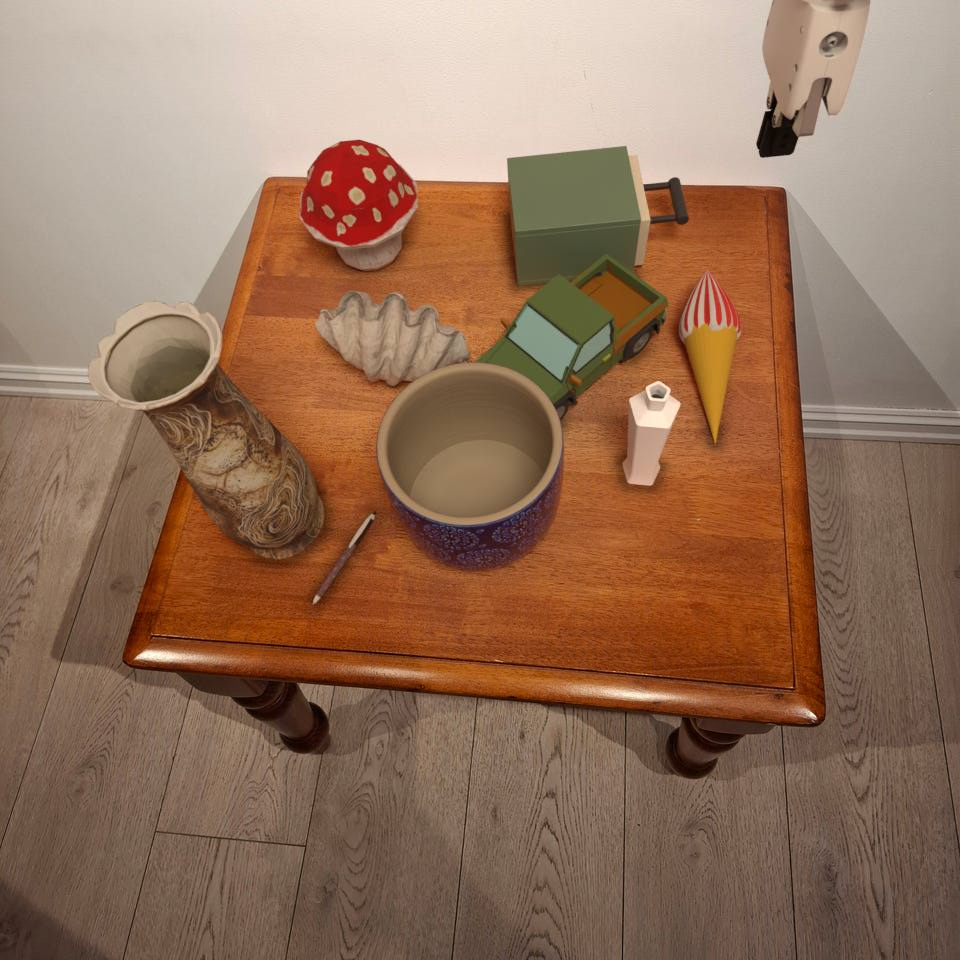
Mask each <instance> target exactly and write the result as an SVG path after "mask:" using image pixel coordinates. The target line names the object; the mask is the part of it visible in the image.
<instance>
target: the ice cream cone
mask: <svg viewBox="0 0 960 960" xmlns="http://www.w3.org/2000/svg"><path fill="white" fill-rule="evenodd" d="M742 327H743V326H742V320H741V317H740V314H739V312H738V309H737V308H736V306H735V304H734V302H733V301H732V299H731V298H730V297H729V294H728V293H727V292H726V290H725V289H724V287H723V286H722V284H721V283H720V282H719V281H718V279H717V278H716V277H715V276H714V275H713V274H712V272H710V270H709V269H708V268H706V270H705V271H704V273H703V274H702V276H700V279H699V280H698V281H697V283H696V284H695V286H694V288H693V290H692V292H691V294H690V296H689V298H688V300H687V301H686V304H685V307H684V309H683V312H682V314H681V317H680V321H679V325H678V336H679V338H680V340H681V342H682V343H683V345H685V349H686V352H687V356H688V359H689V363H690V367H691V369H692V372H693V377H694V379H695V383H696V386H697V390H698V392H699V396H700V399H701V403H702V405H703V406H702V407H703V408H704V412H705V415H706V419H707V422H708V426H709V429H710V433H711V435H712V440H713V442H714V445H716V444H717V440H718V433H719V428H720V425H721V424H720V423H721V419H722V413H723V408H724V405H725V398H726V394H727V389H728V384H729V379H730V374H731V368H732V364H733V359H734V355H735V349H736V344H737V340H738V339H739V338H740V336H741V333H742Z"/></svg>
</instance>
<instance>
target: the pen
mask: <svg viewBox="0 0 960 960" xmlns="http://www.w3.org/2000/svg"><path fill="white" fill-rule="evenodd" d="M376 514H377V511H373V512H372V513H371V514H369V515H368V517H367V518H366V519H365V520H364V521H363V523H362V524H361V525H360V527H359V528H358V529H357V531H356V533H355V534H354V536H353V537H352V539H351V541H350V542H349V543H348V545H347V546H346V548H345V549H344V551H343V552H342V554H341V556H340V557H339V559H338V560H337V561H336V563H335V564H334V566H333V568H332V569H331V570H330V572H329V574H328V575H327V576H326V578H325V580H323V583H322V584H321V585H320V587H319V588H318V590H317V591H316V593H315V595H314V597H313V600H312V605H315V604H317V602H318V601H320V600H321V599H322V598H323V596H324V594H326V592H327V590H328V589H329V587H331V585H332V583H333V582H334V580H335V579H336V578H337V576H338V575H339V574H340V571H341V570H342V569H343V567H344V566H345V564H347V561H348V560H349V559H350V558H351V556H352V554H353V553H354V551H355V550H356V549H357V547H358V546H359V544H360V543H361V541H362V539H363V538H364V537H365V535H366V533H367V532H368V530H369V529H370V527H371V525H372V524H373V523H374V521H375V518H376Z"/></svg>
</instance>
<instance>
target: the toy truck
mask: <svg viewBox="0 0 960 960" xmlns="http://www.w3.org/2000/svg"><path fill="white" fill-rule="evenodd" d="M668 300H669V299H668V297H667V296H666V295H664V294H663V293H661V292H660V291H659V290H658V289H656V288H654V287H653V286H652V285H650V284H649V283H648V282H646V281H645V280H643V279H642V278H641V277H639V276H638V275H637V274H635V272H634V273H632V272H631V271H630V270H628V269H627V268H625V267H624V266H623V265H621V264H620V263H619V262H617V261H616V260H614V259H613V258H612V257H610V256H609V255H608V254H605V255H604V256H602V257H601V258H600V259H599V260H597V261H596V262H595V263H594V264H592V265H591V266H590V267H589V268H588V269H586V270H585V271H584V272H583V273H581V274H580V275H579V276H578V277H576V278H575V279H574V280H573V281H568V280H567V279H565V278H564V277H563V276H561V275H560V274H559V275H557V276H556V277H555V278H554V279H552V280H551V281H550V282H549V283H546V284H544V285H543V286H542V287H541V288H539V289H538V290H537V291H536V292H535V293H533V294H532V295H531V296H530V297H528V298H527V299H526V300H525V302H524V304H523V305H522V307H521V308H520V310H519V311H518V313H517V314H516V315H515V317H514V319H513V320H512V322H511V323H510V322H509V321H508V319H507V318H506V317H504V316H502V317H501V318H500V323H501V325H502V326H503V328H504V329H505V330H506V331H505V332H504V334H503V335H502V337H500V339H498V340H497V342H495V343H494V344H493V345H492V346H491V347H490V348H488V349H487V350H486V351H485V352H484V353H482V355H480V357H478V358H477V359H476V360H475V361H474V362H480V363H490V364H495V365H500V366H503V367H506V368H509V369H512V370H514V371H516V372H519V373H520V374H522V375H524V376H526V377H527V378H529V379H530V380H532V381H533V382H534V383H536V384H537V385H538V386H539V387H540V388H541V389H542V390H543V391H544V392H545V393H546V395H547V396H548V397H549V398H550V400H551V401H552V403H553V404H554V406H555V408H556V410H557V412H558V415H559V417H560V421H561V422H562V420H563V419H564V417H565V416H566V414H567V412H568V410H569V408H570V404H572V406H575V407H576V406H577V404H578V403H579V402H578V400H577V398H578V397H579V396H580V395H581V394H583V393H584V392H585V391H586V390H587V389H589V387H591V386H592V385H593V384H594V383H595V382H596V381H598V380H599V379H600V378H601V377H602V376H603V375H604V374H606V373H607V372H608V371H609V370H610V369H611V368H613V367H614V366H615V365H616V364H617V363H619V362H620V361H622V362H627V361H629V359H632V358H635V357H636V356H638V355H639V354H640V353H641V352H642V351H644V349H645V348H646V346H647V345H648V344H649V342H650V340H651V339H652V338H653V337H652V336H653V333H655V334H656V335H659V333H660V330H661V328H660V327H661V325H662V326H664V324H665V323H666V320H667V312H666V309H667V308H668V307H669V306H670V305H669V301H668Z"/></svg>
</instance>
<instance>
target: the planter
mask: <svg viewBox="0 0 960 960" xmlns="http://www.w3.org/2000/svg"><path fill="white" fill-rule="evenodd" d="M380 421H381V422H380V424H379V427H378V430H377V435H376V442H375V443H376V445H375V453H376V462H377V466H378V470H379V475H380V477H381V480H382V484H383V486H384V488H385V492H386V495H387V497H388V499H389V502H390V504H391V506H392V508H393V511H394V512H395V515H396V517H397V519H398V520H399V523H400V524H401V527H403V529H404V531H405V532H406V533H407V535H408V536H409V538H410V539H411V541H412V542H413V543H414V544H415V545H416V546H417V547H418V548H419V549H420V550H421V551H422V552H423V553H424V554H426V555H427V556H429V557H431V558H432V559H433V560H435V561H437V562H439V563H440V564H443V565H445V566H447V567H450V568H453V569H457V570H463V571H470V572H483V571H484V572H485V571H491V570H496V569H500V568H503V567H506V566H509V565H511V564H513V563H516V562H517V561H519V560H521V559H522V558H524V557H526V556H527V555H529V554H530V553H531V552H533V550H534V549H536V547H537V546H538V545H540V543H541V542H542V541H543V539H544V538H545V537H546V535H547V534H548V532H549V531H550V530H551V527H552V525H553V523H554V521H555V518H556V516H557V512H558V509H559V505H560V501H561V497H562V491H563V483H564V474H565V473H564V471H565V438H564V437H565V436H564V430H563V424H562V420H561V421H560V417H559V415H558V412H557V410H556V408H555V406H554V404H553V403H552V401H551V400H550V398H549V397H548V396H547V395H546V393H545V392H544V391H543V390H542V389H541V388H540V387H539V386H538V385H537V384H536V383H534V382H533V381H532V380H530V379H529V378H527V377H526V376H524V375H522V374H520V373H519V372H516V371H514V370H512V369H509V368H506V367H503V366H500V365H495V364H490V363H480V362H475V361H470V362H469V361H468V362H466V363H458V364H453V365H448V366H444V367H441V368H438V369H435V370H433V371H431V372H428V373H426V374H424V375H423V376H421V377H419V378H418V379H416V380H414V381H411V382H410V383H409V384H408V385H407V386H405V387H404V388H403V389H402V390H401V391H400V392H399V393H398V394H397V395H395V397H394V399H393V400H392V401H391V403H390V404H389V406H388V407H387V409H386V410H385V413H384V414H383V417H382V419H381V420H380Z"/></svg>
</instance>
